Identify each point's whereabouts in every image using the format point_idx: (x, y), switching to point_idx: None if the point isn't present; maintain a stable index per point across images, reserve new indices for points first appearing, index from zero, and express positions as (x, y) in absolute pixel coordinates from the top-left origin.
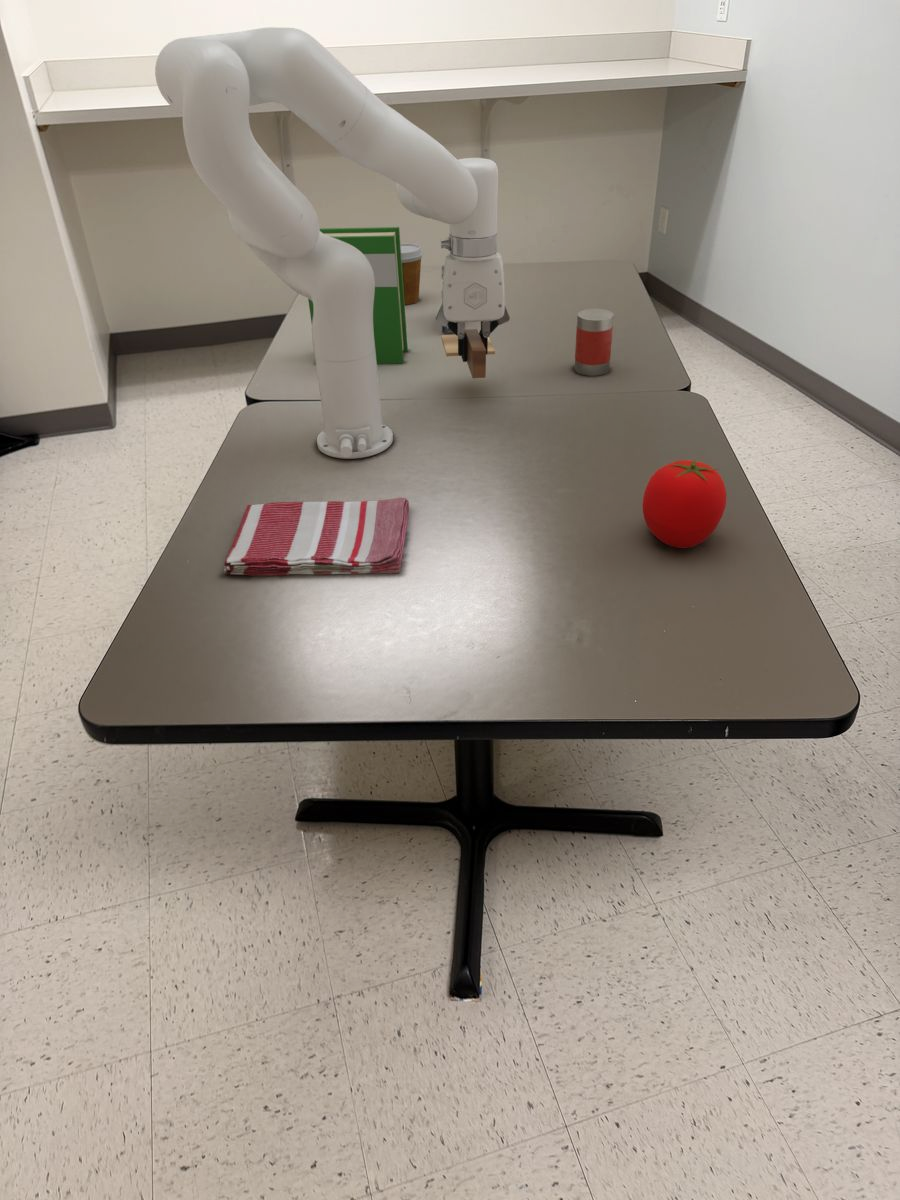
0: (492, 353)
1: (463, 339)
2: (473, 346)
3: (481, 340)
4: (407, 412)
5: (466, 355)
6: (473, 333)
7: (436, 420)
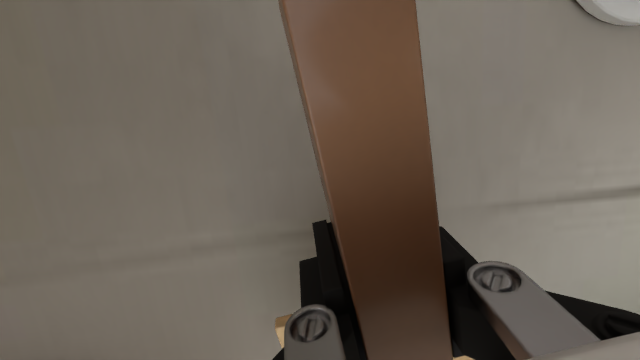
0: (285, 318)
1: (463, 261)
2: (399, 54)
3: (338, 217)
4: (503, 127)
5: None
6: (402, 343)
7: (427, 78)
